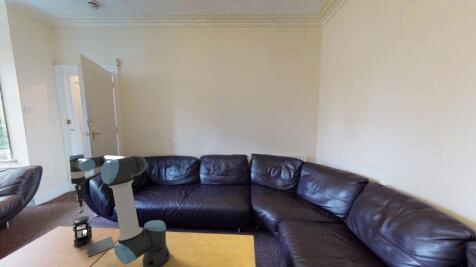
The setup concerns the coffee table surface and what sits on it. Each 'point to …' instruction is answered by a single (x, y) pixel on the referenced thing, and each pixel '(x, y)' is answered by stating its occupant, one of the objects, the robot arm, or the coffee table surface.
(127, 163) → the robot arm
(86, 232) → the black lantern
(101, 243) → the plate
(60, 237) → the coffee table surface
